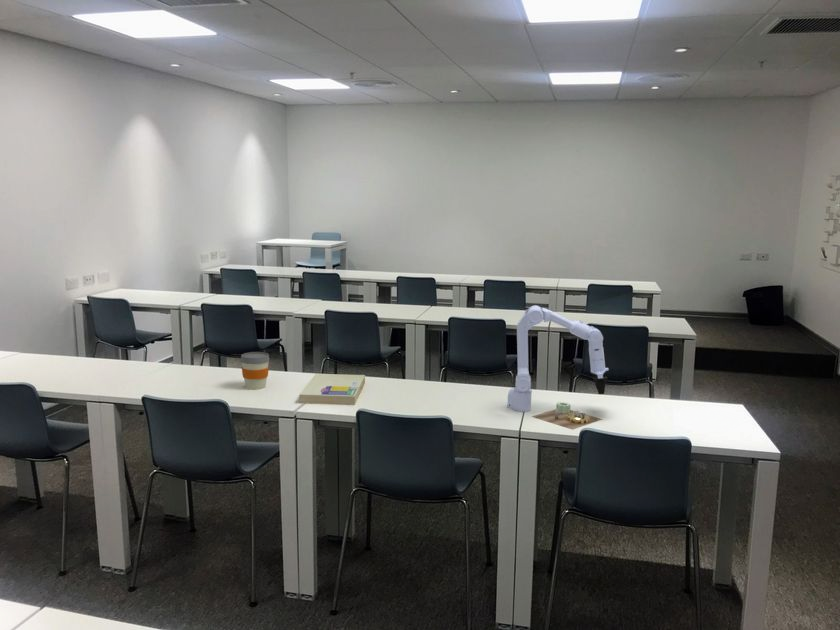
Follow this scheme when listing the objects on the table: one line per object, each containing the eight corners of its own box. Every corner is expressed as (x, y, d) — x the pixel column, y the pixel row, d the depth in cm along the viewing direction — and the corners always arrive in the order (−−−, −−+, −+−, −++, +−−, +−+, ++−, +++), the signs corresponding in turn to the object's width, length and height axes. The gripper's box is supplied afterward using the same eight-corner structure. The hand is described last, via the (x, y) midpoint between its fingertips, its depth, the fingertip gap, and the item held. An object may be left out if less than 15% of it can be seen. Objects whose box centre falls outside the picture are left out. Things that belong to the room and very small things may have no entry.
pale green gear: (553, 411, 279) (553, 403, 279) (561, 408, 283) (562, 401, 282) (564, 414, 275) (564, 407, 275) (572, 412, 279) (573, 404, 278)
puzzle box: (365, 384, 321) (315, 382, 322) (365, 374, 320) (315, 372, 321) (354, 407, 285) (297, 404, 286) (354, 396, 284) (297, 394, 286)
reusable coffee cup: (271, 383, 316) (271, 351, 314) (267, 390, 304) (266, 358, 302) (244, 383, 316) (243, 351, 313) (238, 390, 303) (238, 357, 301)
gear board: (531, 418, 272) (531, 407, 271) (561, 409, 285) (562, 399, 284) (572, 432, 257) (573, 420, 256) (602, 421, 270) (603, 410, 269)
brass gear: (561, 419, 268) (561, 411, 268) (574, 415, 274) (575, 407, 274) (580, 425, 262) (580, 416, 261) (593, 421, 268) (594, 412, 267)
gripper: (609, 361, 266) (612, 395, 268) (605, 353, 280) (608, 385, 282) (591, 363, 267) (594, 396, 269) (587, 355, 281) (591, 387, 283)
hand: (600, 391), depth 276 cm, fingers open, 7 cm apart
